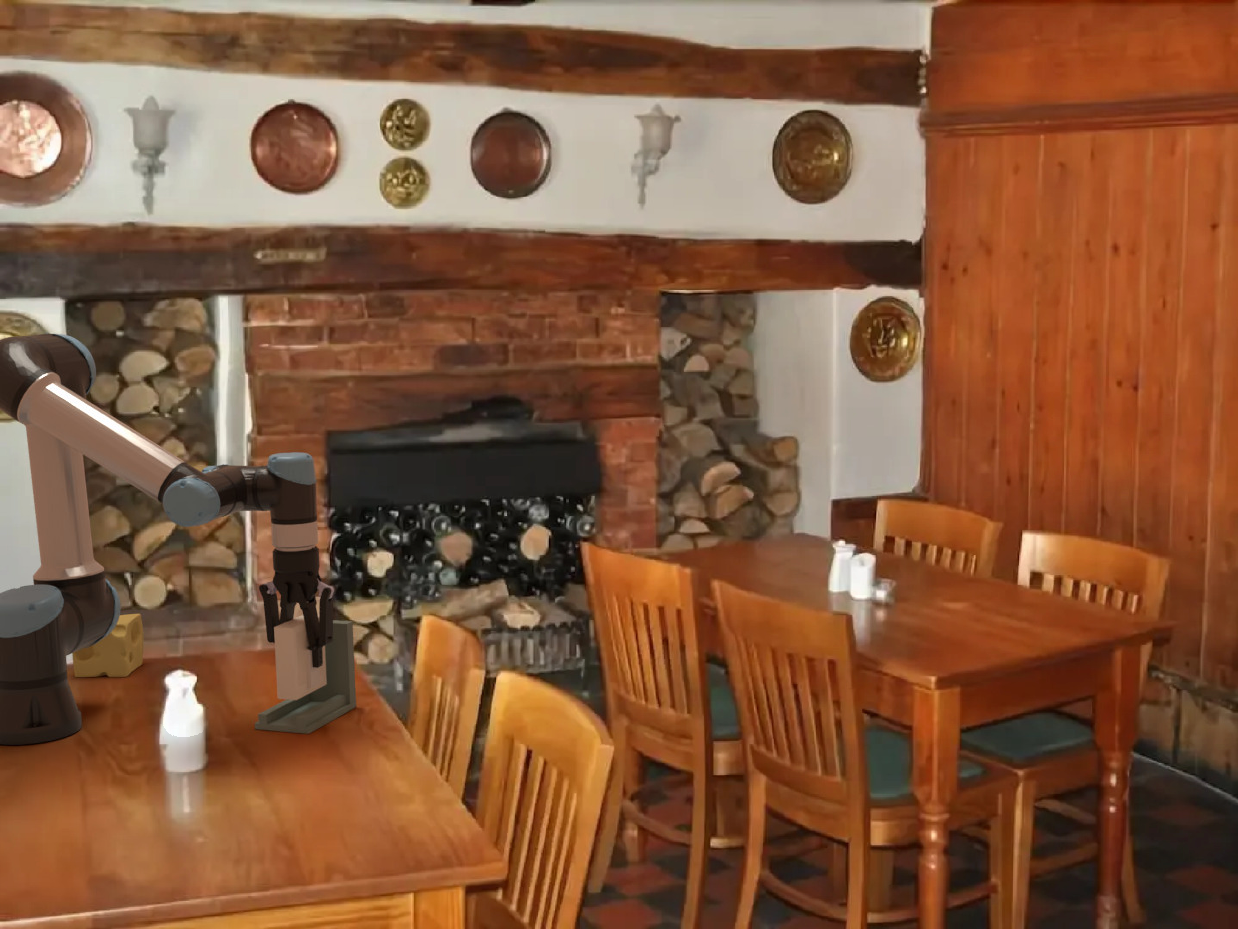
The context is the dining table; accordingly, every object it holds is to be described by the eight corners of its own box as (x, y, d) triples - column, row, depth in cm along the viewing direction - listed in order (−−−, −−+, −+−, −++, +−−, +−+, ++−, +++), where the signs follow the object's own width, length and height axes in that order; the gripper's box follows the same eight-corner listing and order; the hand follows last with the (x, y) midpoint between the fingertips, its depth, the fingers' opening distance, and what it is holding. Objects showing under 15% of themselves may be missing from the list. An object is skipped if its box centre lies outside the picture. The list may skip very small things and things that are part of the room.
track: (308, 733, 250) (304, 643, 248) (254, 729, 253) (250, 639, 251) (356, 707, 265) (352, 621, 263) (304, 702, 268) (300, 618, 266)
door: (296, 700, 252) (293, 628, 251) (277, 698, 254) (273, 627, 252) (327, 684, 262) (323, 615, 260) (308, 683, 263) (305, 614, 261)
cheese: (127, 677, 288) (124, 625, 287) (70, 678, 288) (67, 626, 287) (145, 663, 298) (142, 612, 297) (90, 664, 298) (87, 613, 297)
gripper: (351, 544, 255) (357, 682, 258) (263, 541, 261) (270, 676, 264) (329, 552, 248) (335, 694, 251) (239, 548, 254) (246, 687, 257)
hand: (302, 684), depth 258 cm, fingers closed on door, 4 cm apart
